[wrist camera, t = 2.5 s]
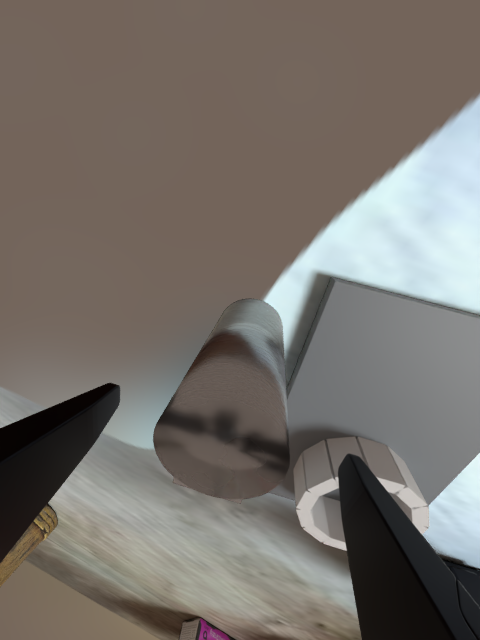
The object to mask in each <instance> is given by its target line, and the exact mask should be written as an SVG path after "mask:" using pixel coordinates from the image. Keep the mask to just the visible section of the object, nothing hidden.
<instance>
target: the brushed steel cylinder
mask: <svg viewBox="0 0 480 640" xmlns="http://www.w3.org/2000/svg"><path fill="white" fill-rule="evenodd" d="M153 442H154V447H155V451H156V454H157V456H158V458H159V460H160V461H161V463H162V464H163V466H164V467H165V468H166V469H167V470H168V471H169V472H170V473H171V474H172V475H173V476H174V479H173V483H175V484H178V485H182V486H185V487H188V488H191V489H194V490H196V491H198V492H201V493H204V494H207V495H210V496H214V497H219V498H224V499H227V500H230V501H233V502H237V503H240V504H241V501H242V499H248V498H253V497H257V496H260V495H263V494H265V493H268V492H270V491H271V490H273V489H274V488H276V487H277V486H278V485H279V484H280V483H281V482H282V481H283V480H284V478H285V476H286V475H287V472H288V470H289V465H290V450H289V432H288V413H287V395H286V377H285V359H284V341H283V325H282V321H281V318H280V316H279V314H278V313H277V311H276V310H275V309H274V308H273V307H272V306H270V305H269V304H267V303H266V302H263V301H261V300H257V299H242V300H239V301H236V302H234V303H232V304H231V305H230V306H228V307H227V308H226V309H225V311H224V312H223V314H222V315H221V317H220V319H219V320H218V322H217V324H216V325H215V327H214V329H213V330H212V332H211V334H210V335H209V337H208V339H207V341H206V342H205V344H204V345H203V347H202V349H201V350H200V352H199V354H198V355H197V357H196V359H195V360H194V362H193V364H192V366H191V367H190V369H189V370H188V372H187V374H186V375H185V377H184V379H183V380H182V382H181V384H180V386H179V387H178V389H177V390H176V392H175V394H174V395H173V397H172V399H171V400H170V402H169V404H168V406H167V407H166V409H165V410H164V412H163V414H162V415H161V417H160V419H159V420H158V422H157V424H156V427H155V429H154V436H153Z"/></svg>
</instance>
